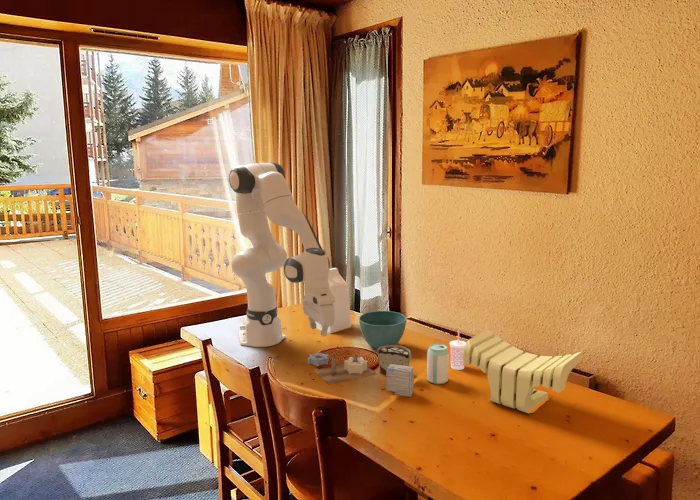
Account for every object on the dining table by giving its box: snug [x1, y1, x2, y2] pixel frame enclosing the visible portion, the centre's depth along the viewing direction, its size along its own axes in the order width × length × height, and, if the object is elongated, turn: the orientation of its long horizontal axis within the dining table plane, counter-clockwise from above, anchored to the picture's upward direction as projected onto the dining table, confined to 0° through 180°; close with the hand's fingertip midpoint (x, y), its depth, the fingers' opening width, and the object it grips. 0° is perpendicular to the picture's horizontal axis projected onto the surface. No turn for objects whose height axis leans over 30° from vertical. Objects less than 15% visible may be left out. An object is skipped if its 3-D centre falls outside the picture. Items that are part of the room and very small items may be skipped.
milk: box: [315, 267, 352, 334], centre depth 235 cm, size 12×12×26 cm
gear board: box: [313, 352, 377, 385], centre depth 186 cm, size 13×18×7 cm
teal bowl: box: [358, 310, 407, 351], centre depth 211 cm, size 18×18×12 cm
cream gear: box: [343, 356, 368, 374], centre depth 188 cm, size 7×8×3 cm
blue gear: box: [307, 352, 330, 367], centre depth 196 cm, size 7×8×3 cm
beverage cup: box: [449, 329, 467, 371], centre depth 192 cm, size 6×6×14 cm
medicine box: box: [386, 364, 414, 398], centre depth 172 cm, size 8×4×9 cm, turn 71°
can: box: [426, 343, 450, 385], centre depth 181 cm, size 7×7×12 cm
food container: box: [376, 344, 413, 376], centre depth 185 cm, size 12×6×10 cm, turn 65°
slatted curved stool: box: [463, 329, 583, 414], centre depth 165 cm, size 30×16×18 cm, turn 47°
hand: (318, 332), depth 193 cm, fingers open, 8 cm apart
